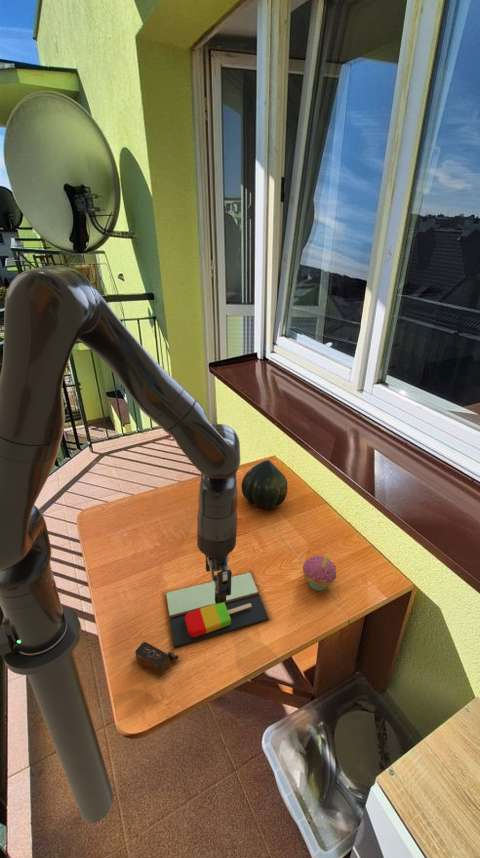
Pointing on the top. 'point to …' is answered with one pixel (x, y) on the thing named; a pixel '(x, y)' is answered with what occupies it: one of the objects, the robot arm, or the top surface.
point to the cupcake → (319, 572)
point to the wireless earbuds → (153, 658)
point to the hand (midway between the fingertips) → (215, 585)
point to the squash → (264, 485)
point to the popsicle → (210, 618)
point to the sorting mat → (205, 596)
